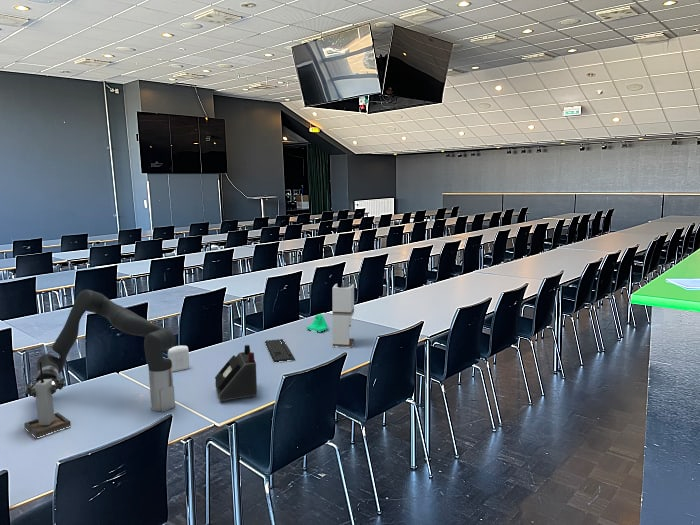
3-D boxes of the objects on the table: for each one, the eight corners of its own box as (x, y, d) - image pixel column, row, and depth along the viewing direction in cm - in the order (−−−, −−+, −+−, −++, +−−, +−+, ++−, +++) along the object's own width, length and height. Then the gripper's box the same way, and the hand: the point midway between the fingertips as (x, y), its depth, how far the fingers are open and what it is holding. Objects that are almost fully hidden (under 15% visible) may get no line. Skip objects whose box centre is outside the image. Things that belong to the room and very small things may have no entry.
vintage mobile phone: (56, 419, 197) (49, 358, 193) (48, 425, 192) (42, 363, 188) (46, 419, 197) (39, 358, 193) (38, 425, 192) (32, 363, 188)
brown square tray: (70, 427, 195) (70, 421, 195) (36, 439, 186) (35, 433, 186) (58, 418, 203) (57, 412, 203) (24, 429, 194) (24, 423, 193)
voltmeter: (215, 389, 231) (213, 347, 227) (250, 384, 236) (249, 343, 233) (219, 404, 216) (217, 359, 213) (257, 398, 222) (255, 354, 218)
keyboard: (295, 361, 267) (295, 358, 267) (274, 363, 264) (273, 360, 264) (283, 341, 301) (283, 338, 300) (264, 343, 297) (264, 340, 297)
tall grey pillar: (351, 348, 287) (350, 288, 281) (332, 347, 289) (332, 287, 283) (354, 342, 298) (353, 284, 293) (336, 341, 300) (336, 283, 294)
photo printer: (188, 366, 260) (186, 343, 258) (190, 368, 256) (189, 345, 254) (167, 370, 254) (166, 346, 252) (169, 373, 251) (168, 349, 249)
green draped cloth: (305, 330, 322) (305, 315, 320) (313, 327, 328) (313, 312, 326) (320, 333, 315) (320, 317, 313) (328, 330, 321) (327, 315, 319)
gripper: (25, 371, 201) (19, 387, 186) (66, 365, 207) (64, 380, 192) (27, 389, 202) (22, 406, 187) (68, 383, 209) (66, 399, 194)
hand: (43, 393), depth 190 cm, fingers closed on vintage mobile phone, 5 cm apart
